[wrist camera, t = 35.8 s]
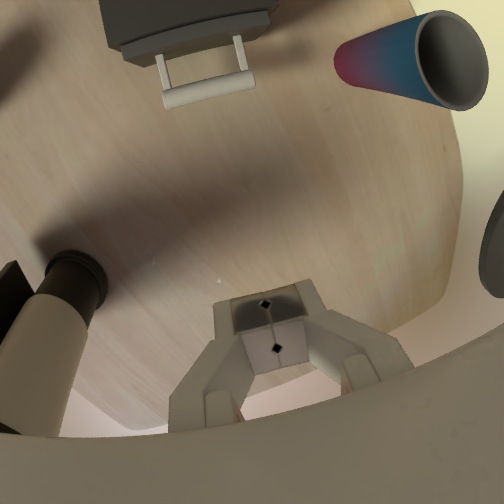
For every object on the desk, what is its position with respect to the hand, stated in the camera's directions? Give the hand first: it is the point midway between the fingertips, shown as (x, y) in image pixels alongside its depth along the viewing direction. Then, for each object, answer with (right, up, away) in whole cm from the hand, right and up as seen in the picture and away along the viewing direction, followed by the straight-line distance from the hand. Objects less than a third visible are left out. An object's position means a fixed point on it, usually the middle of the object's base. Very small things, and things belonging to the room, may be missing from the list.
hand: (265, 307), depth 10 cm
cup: (+10, +21, +17) cm, 29 cm away
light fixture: (-23, -2, +24) cm, 33 cm away
